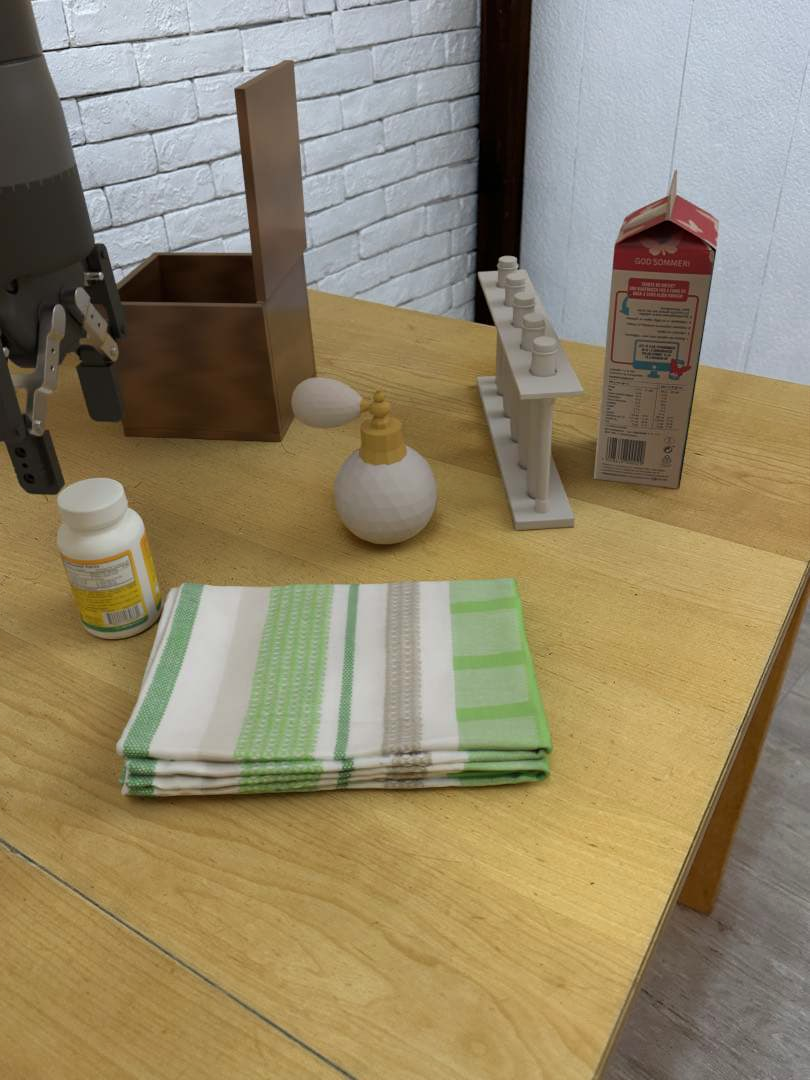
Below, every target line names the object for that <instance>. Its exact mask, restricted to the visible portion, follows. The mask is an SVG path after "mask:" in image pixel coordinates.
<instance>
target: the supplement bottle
mask: <svg viewBox="0 0 810 1080" xmlns="http://www.w3.org/2000/svg"><path fill="white" fill-rule="evenodd" d="M125 492H126V491H125V489H124V486H123V484H122V483H121V482H119V481H118V480H116V479H113V478H108V477H91V478H86V479H81V480H79V481H76V482H73V483H71V484H69V485H68V486H66V487H65V488H63V489H61V490H60V492H59V493H58V494H57V498H56V506H57V510H58V514H59V517H60V519H61V521H62V524H61V525H60V527H59V528H58V530H57V535H56V546H57V548H58V551H59V552H58V553H59V555H60V558H61V561H62V565H63V568H64V571H65V574H66V576H67V580H68V583H69V586H70V589H71V592H72V595H73V600H74V602H75V605H76V608H77V611H78V614H79V617H80V620H81V623H82V625H83V627H84V629H85V631H87V632H88V633H89V634H91V635H92V636H95V637H98V638H101V639H105V640H120V639H126V638H130V637H133V636H136V635H139V634H140V633H143V632H144V631H146V630H147V629H149V628H150V627H151V626H153V624H155V623H156V621H157V620H158V619H159V617H161V615H162V612H163V598H162V594H161V589H160V585H159V581H158V577H157V572H156V569H155V565H154V561H153V556H152V552H151V549H150V544H149V540H148V536H147V532H146V527H145V524H144V520H143V518H142V517H141V516H140V515H139V514H138V512H137V511H135V510H134V509H133V508H130V507H129V502H128V499H127V495H126V493H125Z"/></svg>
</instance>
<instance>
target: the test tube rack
mask: <svg viewBox="0 0 810 1080" xmlns="http://www.w3.org/2000/svg"><path fill="white" fill-rule="evenodd" d="M496 267H497V270H490V271H489V270H487V271H478V272H477V277H478V280H479V283H480V286H481V289H482V292H483V295H484V298H485V302H486V304H487V306H488V310H489V313H490V315H491V318H492V321H493V324H494V327H495V329H496V347H495V348H496V351H495V353H496V355H495V361H496V362H495V375H490V376H489V375H488V376H476V387H477V391H478V395H479V399H480V402H481V403H480V404H481V406H482V410H483V414H484V418H485V421H486V425H487V429H488V432H489V433H488V434H489V436H490V440H491V445H492V447H493V452H494V455H495V459H496V463H497V467H498V471H499V474H500V478H501V481H502V487H503V489H504V493H505V497H506V501H507V504H508V509H509V513H510V516H511V519H512V523H513V527H514V530H515V531H526V530H528V531H529V530H542V529H556V528H557V529H560V528H571V527H572V528H574V527H575V524H576V523H575V521H576V517H575V514H574V511H573V509H572V506H571V503H570V501H569V498H568V495H567V492H566V490H565V487H564V485H563V482H562V479H561V476H560V474H559V471H558V469H557V466H556V462H555V460H554V458H553V455H552V439H553V421H554V420H553V419H554V406H555V404H556V399H558V398H573V397H584V394H585V390H584V388H583V387H582V384H581V382H580V379H579V378H578V376H577V374H576V371H575V370H574V367H573V365H572V363H571V361H570V359H569V357H568V355H567V353H566V350H565V348H564V346H563V345H562V343H561V342H562V341H561V340H560V338H559V336H558V333H557V332H556V329H555V328H554V325H553V324H552V322H551V319H550V317H549V315H548V313H547V312H546V311H547V310H546V309H545V307H544V305H543V303H542V300H541V299H540V297H539V294H538V293H537V291H536V288H535V287H534V284H533V282H532V280H531V278H530V276H529V274H528V272H527V270H526V269H525V268H524V269H518V268H519V263H518V258H517V257H515V256H512V255H504V256H501V257H500V256H499V258H498V263H497V264H496Z"/></svg>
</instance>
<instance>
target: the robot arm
mask: <svg viewBox="0 0 810 1080" xmlns="http://www.w3.org/2000/svg"><path fill="white" fill-rule="evenodd" d="M41 39H42V38H41V35H40V31H39V28H38V24H37V19H36V15H35V11H34V7H33V3H32V0H0V443H4V444H5V447H6V450H7V453H8V455H9V459H10V462H11V465H12V466H13V470H14V473H15V476H16V479H17V482H18V484H19V486H20V488H22V489H23V490H24V492H26V493H28V494H30V495H42V496H44V495H45V496H56V495H59V494H60V492H61V491H62V490H63V489H64V487H65V486H66V481H65V478H64V475H63V474H64V473H63V471H62V467H61V465H60V461H59V458H58V454H57V451H56V449H55V445H54V442H53V439H52V436H51V431H50V430H49V429H46V424H47V410H48V399H49V396H50V395H51V394H53V393H54V392H55V391H56V390H57V387H58V377H59V366H60V365H61V364H62V363H63V361H64V360H65V358H66V356H67V355H68V354H69V355H70V356H71V357H72V358H73V359H74V361H78V362H79V363H78V364H77V365H76V366H75V370H76V373H77V377H78V380H79V383H80V388H81V391H82V395H83V398H84V402H85V405H86V409H87V413H88V416H89V417H90V419H91V420H92V421H94V422H99V423H100V422H103V423H119V422H122V421H121V419H122V418H123V417H124V416H125V415H126V407H125V403H124V399H123V395H122V391H121V387H120V383H119V379H118V375H117V371H116V367H115V363H114V361H116V360H117V359H118V354H119V351H118V346H117V341H118V339H119V340H125V339H126V338H127V335H128V327H127V323H126V319H125V315H124V312H123V308H122V304H121V300H120V297H119V293H118V289H117V285H116V283H117V282H116V278H115V274H114V271H113V267H112V263H111V260H110V255H109V251H108V249H107V248H108V247H107V246H106V245H105V243H102V242H101V243H99V242H98V243H96V238H95V235H94V234H95V233H94V229H93V226H92V223H91V218H90V213H89V210H88V205H87V202H86V197H85V194H84V193H85V192H84V189H83V185H82V181H81V177H80V173H79V168H78V165H77V160H76V156H75V152H74V147H73V144H72V139H71V136H70V132H69V127H68V123H67V119H66V116H65V111H64V108H63V104H62V101H61V98H60V95H59V93H58V90H57V87H56V84H55V82H54V80H53V77H52V75H51V71H50V69H49V66H48V63H47V62H48V61H47V59H46V55H45V53H43V50H44V49H43V48H44V47H43V44H42V40H41ZM93 304H99V305H103V306H104V307H105V308H106V312H107V315H108V319H104V318H103V317H102V316H101V315H100V314H99V312H98V311H97V310H96V309H95V308H94V306H93ZM9 361H10V362H11V363H12V364H14V365H15V366H16V367H19V368H20V369H32V370H33V369H34V370H33V371H32V372H30V373H11V372H10V369H9ZM17 393H26V395H25V397H26V398H25V412H22V410H21V407H20V404H19V400H18V397H17V396H18V395H17Z"/></svg>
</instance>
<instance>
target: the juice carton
mask: <svg viewBox="0 0 810 1080" xmlns="http://www.w3.org/2000/svg"><path fill="white" fill-rule="evenodd" d="M677 182H678V169H675V170H674V172H673V175H672V179H671V183H670V187H669V190H668V195H666V196H663V197H662V198H659V199H657V200H655V201H653V202H651V203H649V204H647V205H644V206H643V207H640V208H638V209H636V210H634V211H633V212H630V213H629V214H628V215H626V216H625V217H624V219H623V222H622V224H621V227H620V229H619V232H618V234H617V237H616V240H615V243H614V247H613V257H612V258H613V259H612V269H611V270H612V271H611V280H610V292H609V302H608V313H607V323H606V324H607V325H606V335H605V336H606V337H605V348H604V358H603V370H602V381H601V382H602V383H601V390H600V391H601V392H600V404H599V412H598V413H599V416H598V423H597V425H598V426H597V435H596V448H595V460H594V471H593V480H599V481H600V480H602V481H610V482H617V483H618V482H619V483H625V484H634V485H643V486H651V487H660V488H669V489H675V490H677V489H679V490H680V487H681V481H682V475H683V467H684V461H685V454H686V448H687V443H688V435H689V428H690V423H691V416H692V410H693V403H694V397H695V390H696V384H697V379H698V372H699V365H700V358H701V352H702V345H703V339H704V333H705V325H706V320H707V319H706V318H707V314H708V308H709V307H708V306H709V301H710V300H709V299H710V294H711V287H712V282H713V281H712V280H713V274H714V269H715V261H716V255H717V248H718V237H719V227H720V220H718V219H717V218H716V217H715V216H713V214H711V213H710V212H708V211H707V210H705V209H703V208H701V207H699V206H698V205H696V204H694V203H692V202H690V201H688V199H685V198H683V197H682V196H681V195H678V194H677Z"/></svg>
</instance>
